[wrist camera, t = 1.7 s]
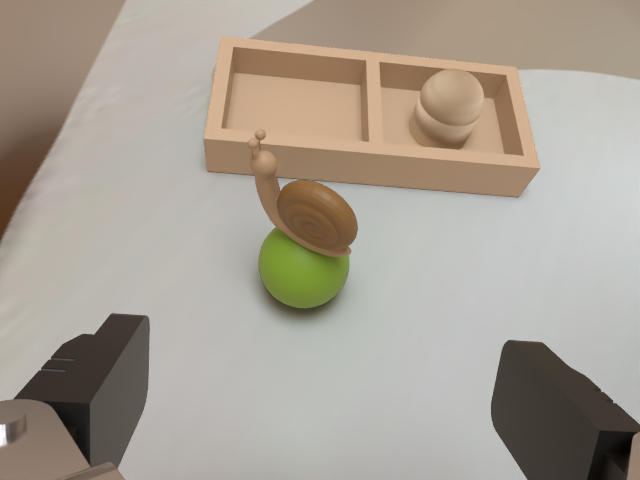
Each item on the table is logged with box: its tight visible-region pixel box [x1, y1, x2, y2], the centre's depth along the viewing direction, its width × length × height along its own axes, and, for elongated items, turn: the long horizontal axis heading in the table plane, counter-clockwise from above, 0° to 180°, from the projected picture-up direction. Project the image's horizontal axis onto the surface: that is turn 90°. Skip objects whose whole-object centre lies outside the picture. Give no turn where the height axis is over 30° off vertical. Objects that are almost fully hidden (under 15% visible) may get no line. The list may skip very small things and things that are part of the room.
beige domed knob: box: [409, 69, 484, 150], centre depth 39 cm, size 5×5×5 cm
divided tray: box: [204, 36, 540, 197], centre depth 40 cm, size 23×10×4 cm, turn 89°
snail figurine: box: [247, 129, 358, 308], centre depth 29 cm, size 5×6×12 cm
